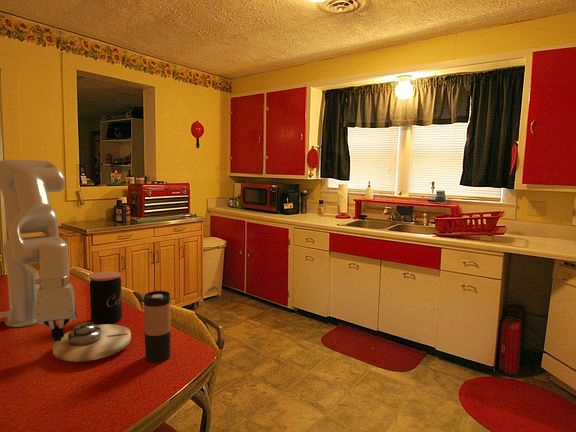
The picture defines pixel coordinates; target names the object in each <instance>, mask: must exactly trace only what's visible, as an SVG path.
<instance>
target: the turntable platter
mask: <svg viewBox="0 0 576 432" xmlns="http://www.w3.org/2000/svg"><path fill="white" fill-rule="evenodd" d="M95 327H99V328H100V329H101V339H100V340H99V341H97V342H95V343H93V344H90V345H86V346H72V345H70V344H69V340H68V334H69V333H70V332H71V331H72V330H70V331H68V332H66V333H64V337H62V339H61V341H58V340H57V341H56V342H54V341H53V344H52V353H53V356H54V358H56V359H58V360H61V361H65V362H75V363H80V362H79V361H88V362H91V361H90V360H95V359H99V360H101V359H100V358H103V359H105V358H104V357H106V358H108V357H110V356H112V355H114V354H115V355H116V354H117V353H119V352H121V351H122V350H124V349H125V348H127V347H128V346H129V344H131V341H132V337H131V336H132V333H131V330H130V329H129V327H126V326H123V325H120V324H119V325H118V324H104V325H95ZM107 356H108V357H107ZM95 361H96V360H95Z"/></svg>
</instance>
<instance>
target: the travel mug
mask: <svg viewBox="0 0 576 432" xmlns="http://www.w3.org/2000/svg"><path fill="white" fill-rule="evenodd" d="M171 317H172V316H171V293H170V292H169V291H165V290H155V291H150V292H146V293H145V294H144V295H143V321H144V322H143V325H144V326H143V329H144V330H143V331H144V333H143V334H144V350H145V361H146V362H147V363H151V364H159V363H163V362H164V363H165V362H166V361H167V360H169V359H170V357H171V346H172V345H171V339H172V338H171V337H172V336H171V335H172V330H171V329H172V328H171V327H172V325H171V324H172V322H171V321H172V320H171Z"/></svg>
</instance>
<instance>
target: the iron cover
mask: <svg viewBox="0 0 576 432" xmlns="http://www.w3.org/2000/svg"><path fill="white" fill-rule="evenodd" d="M70 331H71V332H70ZM70 331H69V332H70V333H69V334H68V340H69V344H70V345H72V346H86V345H90V344H93V343H95V342H97V341H99V340H100V339H101V329H100V328H99V327H95V323H93V322H92V321H91V322H89V321H88V322H87V321H86V322H81V323H79V324H78V323H77V324H76V325H74V326H73V330H70Z"/></svg>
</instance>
